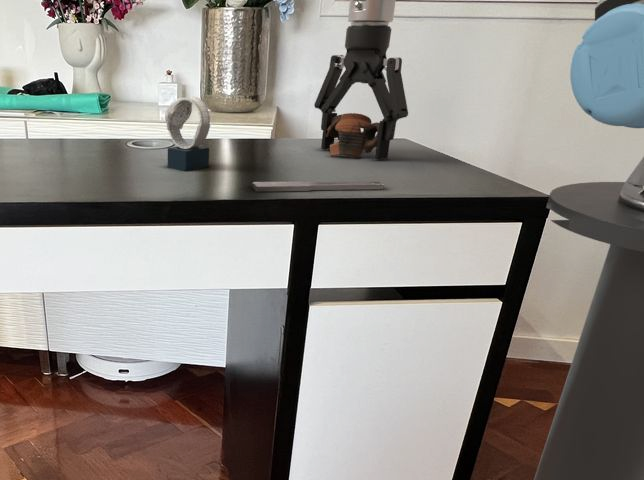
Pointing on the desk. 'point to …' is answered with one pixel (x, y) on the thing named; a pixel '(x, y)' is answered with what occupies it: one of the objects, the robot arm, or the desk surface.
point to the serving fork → (315, 186)
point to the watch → (184, 154)
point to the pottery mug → (352, 134)
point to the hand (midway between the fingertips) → (353, 153)
